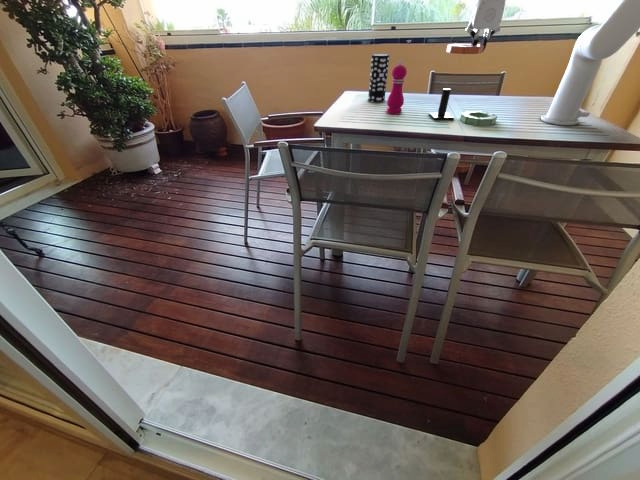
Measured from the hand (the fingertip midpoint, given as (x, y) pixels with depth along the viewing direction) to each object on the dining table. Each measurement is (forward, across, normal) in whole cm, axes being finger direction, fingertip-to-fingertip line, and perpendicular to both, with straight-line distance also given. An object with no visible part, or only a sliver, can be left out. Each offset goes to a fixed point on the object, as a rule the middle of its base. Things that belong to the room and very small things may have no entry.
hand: (476, 51), depth 116 cm
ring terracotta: (0, -5, 0) cm, 5 cm away
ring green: (+23, +3, -11) cm, 26 cm away
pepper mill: (+24, -28, +3) cm, 37 cm away
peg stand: (+23, -10, -5) cm, 26 cm away
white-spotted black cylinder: (+24, -33, +27) cm, 49 cm away
